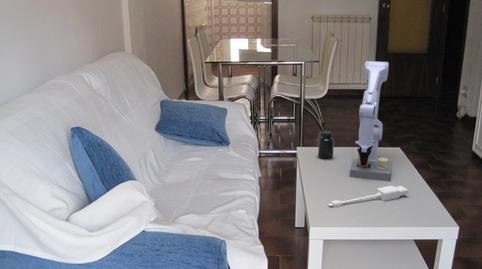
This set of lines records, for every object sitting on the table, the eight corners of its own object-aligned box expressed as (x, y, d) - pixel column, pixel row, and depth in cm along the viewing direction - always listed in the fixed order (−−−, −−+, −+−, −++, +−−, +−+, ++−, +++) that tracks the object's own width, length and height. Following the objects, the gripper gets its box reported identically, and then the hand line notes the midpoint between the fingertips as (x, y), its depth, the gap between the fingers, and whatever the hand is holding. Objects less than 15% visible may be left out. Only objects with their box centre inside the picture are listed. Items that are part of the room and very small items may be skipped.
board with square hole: (352, 165, 216) (353, 150, 214) (390, 169, 211) (392, 153, 209) (349, 176, 203) (350, 160, 201) (389, 180, 198) (391, 164, 196)
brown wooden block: (358, 167, 210) (359, 151, 208) (368, 168, 209) (369, 152, 207) (357, 170, 206) (358, 154, 204) (367, 171, 205) (368, 155, 203)
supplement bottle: (315, 156, 227) (316, 131, 224) (327, 153, 230) (328, 129, 227) (323, 160, 222) (324, 135, 218) (336, 158, 224) (337, 133, 221)
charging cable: (325, 206, 178) (325, 198, 177) (400, 191, 188) (400, 183, 187) (332, 212, 173) (332, 203, 172) (408, 196, 183) (409, 188, 182)
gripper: (358, 126, 211) (355, 156, 215) (354, 136, 197) (352, 168, 201) (374, 128, 209) (372, 158, 212) (372, 137, 195) (370, 169, 199)
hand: (363, 163), depth 207 cm, fingers closed on brown wooden block, 4 cm apart
